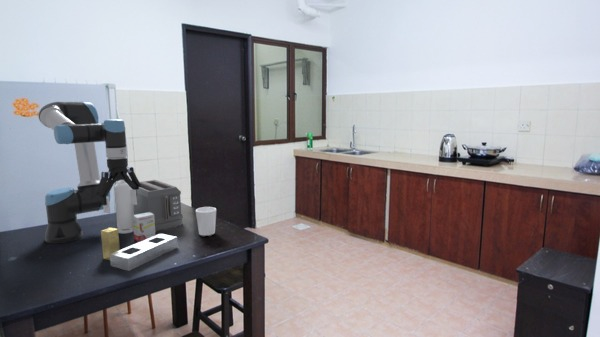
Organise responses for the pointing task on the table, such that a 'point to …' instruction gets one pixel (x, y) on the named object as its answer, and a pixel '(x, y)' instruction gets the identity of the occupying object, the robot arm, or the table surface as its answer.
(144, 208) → the toaster
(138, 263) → the white peg board
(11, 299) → the table surface
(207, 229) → the cup
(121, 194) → the bottle
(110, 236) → the gold square peg
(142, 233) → the ink box
